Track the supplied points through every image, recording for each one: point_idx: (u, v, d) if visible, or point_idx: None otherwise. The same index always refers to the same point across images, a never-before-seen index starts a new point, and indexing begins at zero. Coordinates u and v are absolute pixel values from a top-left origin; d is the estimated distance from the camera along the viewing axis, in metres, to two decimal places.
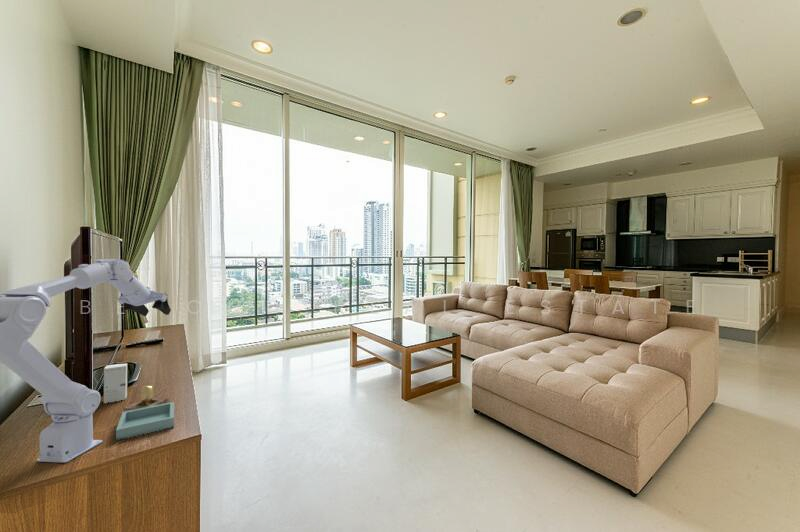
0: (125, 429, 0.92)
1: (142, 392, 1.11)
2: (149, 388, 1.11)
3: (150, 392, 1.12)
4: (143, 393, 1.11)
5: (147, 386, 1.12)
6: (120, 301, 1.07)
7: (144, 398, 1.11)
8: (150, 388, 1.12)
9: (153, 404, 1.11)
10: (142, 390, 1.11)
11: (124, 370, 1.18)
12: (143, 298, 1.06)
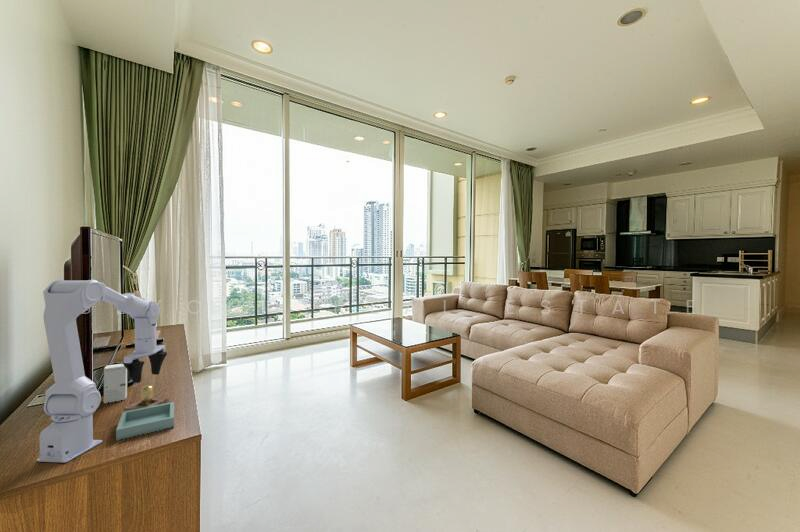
0: (125, 429, 0.92)
1: (142, 392, 1.11)
2: (149, 388, 1.11)
3: (150, 392, 1.12)
4: (143, 393, 1.11)
5: (147, 386, 1.12)
6: (132, 358, 1.05)
7: (144, 398, 1.11)
8: (150, 388, 1.12)
9: (153, 404, 1.11)
10: (142, 390, 1.11)
11: (124, 370, 1.18)
12: None
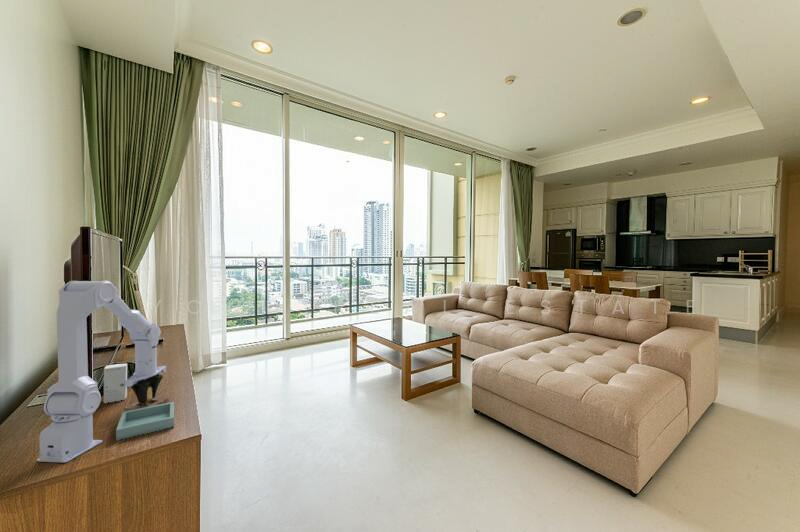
0: (125, 429, 0.92)
1: None
2: (149, 388, 1.11)
3: (150, 392, 1.12)
4: None
5: None
6: (132, 381, 1.05)
7: None
8: (150, 388, 1.12)
9: (153, 404, 1.11)
10: None
11: (124, 370, 1.18)
12: None
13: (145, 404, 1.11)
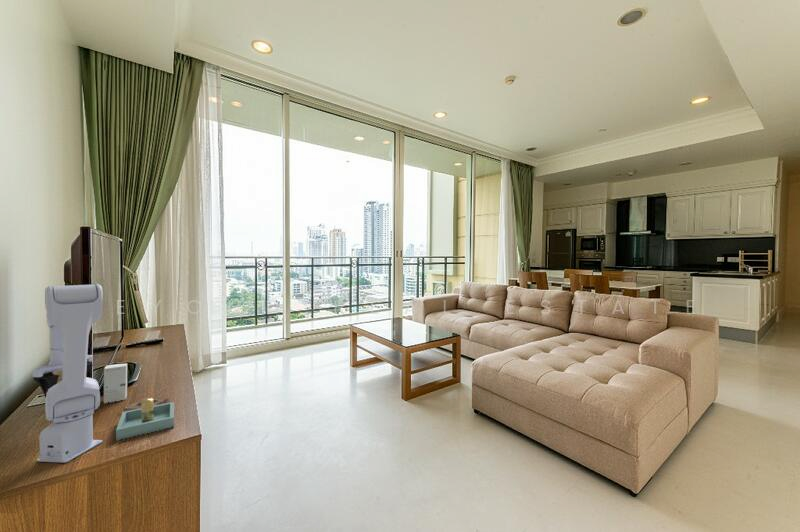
0: (125, 429, 0.92)
1: (142, 406, 0.99)
2: (150, 401, 1.00)
3: (151, 406, 1.00)
4: (144, 407, 0.99)
5: (148, 399, 1.00)
6: (42, 371, 0.91)
7: (145, 412, 0.99)
8: (151, 401, 1.00)
9: None
10: (142, 403, 0.99)
11: (124, 370, 1.18)
12: None
13: (145, 419, 0.99)
